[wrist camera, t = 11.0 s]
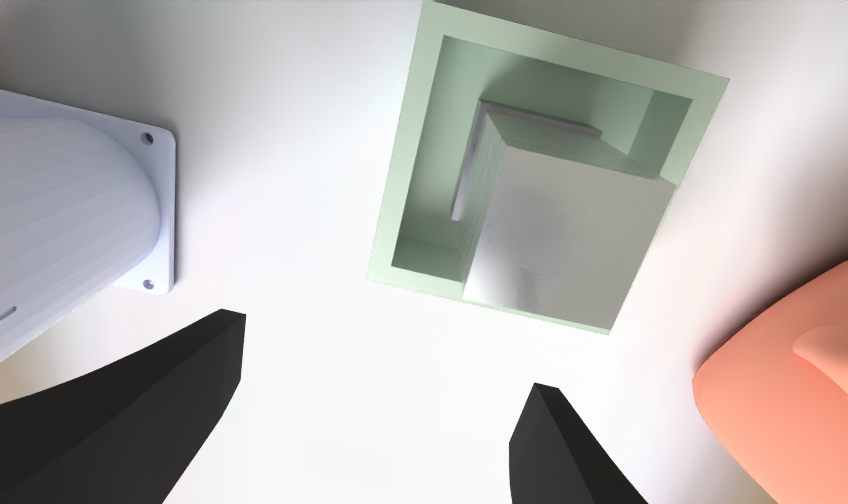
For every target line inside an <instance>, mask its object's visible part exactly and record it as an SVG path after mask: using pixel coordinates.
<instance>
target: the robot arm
mask: <svg viewBox="0 0 848 504" xmlns="http://www.w3.org/2000/svg"><path fill="white" fill-rule="evenodd" d="M147 133H149V134H150V135H151V136H152V137H153V143H150V142H149V141H148V140H147V138H146V134H147ZM175 148H176V143H175V138H174V136H173V135H172V133H171V132H169V131H168V130H166V129H164V128H160V127H156V126H152V125H147V124H143V123H139V122H135V121H131V120H127V119H122V118H118V117H114V116H110V115H106V114H102V113H97V112H93V111H89V110H85V109H81V108H77V107H72V106H68V105H64V104H60V103H56V102H52V101H47V100H43V99H39V98H35V97H31V96H27V95H22V94H18V93H14V92H10V91H6V90H2V89H0V362H2V361H3V360H5V359H6V358H8V357H9V356H10V355H12V354H13V353H15V352H16V351H17V350H19V349H20V348H22V347H23V346H24V345H26V344H27V343H29V342H30V341H32V340H33V339H34V338H36V337H37V336H39V335H40V334H41V333H43V332H44V331H46V330H47V329H48V328H50V327H51V326H53V325H54V324H56V323H57V322H58V321H60V320H61V319H63V318H64V317H65V316H67V315H68V314H70V313H71V312H72V311H74V310H75V309H77V308H78V307H80V306H81V305H82V304H84V303H85V302H87V301H88V300H89V299H91V298H92V297H94V296H95V295H96V294H98V293H99V292H101V291H102V290H104V289H105V288H106V287H108V286H109V285H115V286H119V287H124V288H128V289H133V290H137V291H142V292H146V293H151V294H155V295H161V296H164V295H167V294H168V293H169V292H170V291H171V290H172V289H173V286H174V218H175ZM148 280H150V281H152V282H153V284H154V286H153V285H151V284H150V283H149V282H148ZM245 323H246V314H242V313H238V312H234V311H230V310H225V309H220V310H218V311H215V312H213V313H211V314H210V315H208V316H206V317H204V318H202V319H200V320H198V321H196V322H194V323H192V324H191V325H189V326H187V327H185V328H183V329H181V330H179V331H177V332H175V333H173V334H171V335H169V336H167V337H165V338H163V339H161V340H159V341H157V342H155V343H153V344H152V345H150V346H148V347H146V348H143V349H141V350H139V351H137V352H135V353H132V354H130V355H128V356H126V357H124V358H122V359H119V360H117V361H115V362H113V363H111V364H108V365H106V366H104V367H102V368H100V369H97V370H95V371H92V372H90V373H88V374H85V375H83V376H80V377H78V378H75V379H73V380H70V381H67V382H65V383H62V384H59V385H56V386H54V387H51V388H48V389H46V390H43V391H40V392H37V393H34V394H31V395H28V396H25V397H22V398H19V399H16V400H12V401H9V402H6V403H3V404H0V504H162V503H163V502H164V500H165V499H166V497H167V496H168V494H169V493H170V491H171V490H172V489H173V487H174V486H175V484H176V483H177V481H178V480H179V478H180V477H181V476H182V474H183V473H184V471H185V470H186V468H187V467H188V465H189V464H190V462H191V461H192V460H193V458H194V457H195V455H196V454H197V452H198V451H199V449H200V448H201V447H202V445H203V444H204V442H205V441H206V439H207V438H208V436H209V435H210V433H211V432H212V430H213V429H214V427H215V426H216V425H217V423H218V422H219V420H220V419H221V417H222V415H223V413H224V411H225V409H226V408H227V406H228V404H229V402H230V400H231V398H232V396H233V394H234V392H235V390H236V388H237V386H238V384H239V382H240V379H241V368H242V356H243V345H244V334H245ZM509 476H510V490H511V497H512V504H648V503H647V502H646V501H645V499H644V498H643V497H642V496H641V495H640V494H639V492H638V491H637V490H636V489H635V488H634V486H633V485H632V484H631V483H630V482H629V480H628V479H627V478H626V477H625V476H624V474H623V473H622V472H621V471H620V469H619V468H618V467H617V466H616V464H615V463H614V462H613V461H612V459H611V458H610V457H609V455H608V454H607V453H606V452H605V450H604V449H603V448H602V446H601V445H600V444H599V442H598V441H597V440H596V438H595V437H594V436H593V434H592V433H591V432H590V430H589V429H588V427H587V426H586V425H585V423H584V422H583V421H582V419H581V418H580V417H579V415H578V414H577V412H576V411H575V410H574V408H573V407H572V405H571V404H570V403H569V401H568V400H567V399H566V397H565V396H564V395H563V393H562V392H561V391H560V390H559V388H556V387H551V386H547V385H543V384H539V383H534V385H533V387H532V389H531V392H530V394H529V396H528V399H527V401H526V404H525V406H524V408H523V411H522V413H521V416H520V418H519V420H518V423H517V425H516V427H515V430H514V432H513V435H512V437H511V439H510V442H509Z"/></svg>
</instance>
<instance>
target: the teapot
mask: <svg viewBox="0 0 848 504" xmlns="http://www.w3.org/2000/svg"><path fill="white" fill-rule="evenodd" d="M692 386H693V394H694V399H695V403H696V406H697V408H698V410H699V412H700V414H701V416H702V418H703V420H704V421H705V422H706V424H707V425H708V427H709V428H710V429H711V431H712V432H713V433H714V435H715V436H716V437H717V438H718V440H719V441H720V442H721V443H722V444H723V446H724V447H725V448H726V449H727V450H728V451H729V453H730V454H731V455H732V456H733V457H734V458H735V459H736V460H737V462H738V463H739V464H740V465H741V466H742V467H743V468H744V469H745V470H746V471H747V472H748V473H749V474H750V475H751V476H752V477H753V478H754V479H755V480H756V481H757V482H758V483H759V484H760V485H761V486H762V488H763V489H764V490H765V491H766V492H767V493H768V494H769V495H770V496H771V497H772V498H773V499H774V500H775V501H776V502H778V503H779V504H848V260H847V261H845V262H843V263H841V264H839V265H837V266H836V267H834V268H832V269H830V270H829V271H827V272H825V273H823V274H822V275H820V276H818V277H817V278H815V279H813V280H812V281H810V282H808V283H807V284H805V285H803V286H802V287H800V288H798V289H797V290H795V291H793V292H792V293H790V294H789V295H787V296H785V297H784V298H782V299H781V300H779V301H778V302H777V303H775V304H774V305H772V306H771V307H769V308H768V309H767V310H765V311H764V312H763V313H761V314H760V315H759V316H757V317H756V318H755V319H753V320H752V321H751V322H750V323H748V324H747V325H746V326H745V327H744V328H742V329H741V330H740V331H739V332H738V333H736V334H735V335H734V336H733V337H732V338H731V339H729V340H728V341H727V342H726V343H725V344H724V345H723V346H721V347H720V348H719V349H718V350H717V351H716V352H715V353H713V354H712V355H711V356H710V357H709V358H708V359H707V360H706V361H705V362H704V363H703V364H702V365H701V367H700V368H699V369H698V370H697V372H696V373H695V375H694V377H693V379H692Z"/></svg>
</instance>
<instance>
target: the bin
mask: <svg viewBox="0 0 848 504" xmlns="http://www.w3.org/2000/svg"><path fill="white" fill-rule="evenodd" d="M729 80H730V79H729V78H725V77H721V76H717V75H713V74H709V73H706V72H702V71H698V70H694V69H690V68H687V67H683V66H679V65H675V64H671V63H667V62H664V61H660V60H656V59H652V58H648V57H645V56H641V55H637V54H633V53H629V52H625V51H622V50H618V49H614V48H610V47H606V46H602V45H599V44H595V43H591V42H587V41H583V40H580V39H576V38H572V37H568V36H564V35H560V34H557V33H553V32H549V31H545V30H541V29H538V28H534V27H530V26H526V25H522V24H518V23H515V22H511V21H507V20H503V19H499V18H496V17H492V16H488V15H484V14H480V13H476V12H473V11H469V10H465V9H461V8H457V7H454V6H450V5H446V4H442V3H438V2H434V1H431V0H423V5H422V10H421V15H420V20H419V25H418V30H417V34H416V39H415V44H414V49H413V54H412V59H411V63H410V68H409V73H408V78H407V83H406V88H405V93H404V97H403V102H402V107H401V112H400V117H399V122H398V127H397V131H396V136H395V141H394V146H393V151H392V156H391V160H390V165H389V170H388V175H387V180H386V185H385V190H384V194H383V199H382V204H381V209H380V214H379V219H378V224H377V228H376V233H375V238H374V243H373V248H372V253H371V257H370V262H369V267H368V272H367V277H366V280H368V281H372V282H376V283H381V284H385V285H390V286H394V287H398V288H403V289H407V290H412V291H416V292H420V293H425V294H429V295H433V296H438V297H442V298H447V299H451V300H455V301H460V302H464V303H468V304H473V305H477V306H482V307H486V308H490V309H495V310H499V311H503V312H508V313H512V314H517V315H521V316H525V317H530V318H534V319H538V320H543V321H547V322H552V323H556V324H560V325H565V326H569V327H573V328H578V329H582V330H587V331H591V332H595V333H600V334H604V335H609V333H610V331H611V330H607V329H602V328H598V327H593V326H588V325H584V324H579V323H575V322H570V321H565V320H561V319H556V318H551V317H547V316H542V315H538V314H533V313H528V312H524V311H519V310H514V309H510V308H505V307H501V306H496V305H491V304H487V303H482V302H477V301H473V300H468V299H464V298H462V286H461V269H460V252H459V235H458V221H456V220H452V219H451V203H452V199H453V196H454V192H455V188H456V184H457V180H458V176H459V172H460V168H461V164H462V160H463V156H464V153H465V149H466V145H467V141H468V137H469V133H470V129H471V125H472V121H473V117H474V113H475V110H476V106H477V102H478V98H480V99H484V100H488V101H493V102H497V103H501V104H505V105H510V106H514V107H518V108H522V109H526V110H531V111H535V112H539V113H543V114H548V115H552V116H556V117H560V118H564V119H569V120H573V121H577V122H581V123H586V124H590V125H592V126H594V127H595V128H597V129H599V130H601V131H603V133H602V135H601V138H600V139H601V140H603V141H604V142H606V143H608V144H609V145H611V146H613V147H614V148H616V149H618V150H619V151H621V152H623V153H624V154H626V155H627V156H629V157H631V158H632V159H634V160H636V161H637V162H639V163H641V164H642V165H644V166H646V167H647V168H649V169H650V170H652V171H654V172H655V173H657V174H659V175H660V176H662V177H664V178H665V179H667V180H669V181H670V182H672V183H674V184H675V185H677V187H676V189H675V191H674V193H673V195H672V198H671V200H670V202H669V204H668V206H667V208H666V211H665V213H664V215H663V217H662V219H661V222H660V224H659V226H658V228H657V230H656V233H655V235H654V237H653V239H652V241H651V243H650V246H649V248H648V250H647V252H646V254H645V257H646V255H647V253H648V251H649V249H650V247H651V245H652V242H653V240H654V238H655V236H656V234H657V232H658V230H659V228H660V226H661V223H662V221H663V219H664V217H665V215H666V213H667V211H668V209H669V207H670V205H671V202H672V200H673V198H674V196H675V194H676V192H677V190H678V188H679V186H680V183H681V181H682V179H683V177H684V175H685V173H686V171H687V169H688V167H689V164H690V162H691V160H692V158H693V156H694V154H695V152H696V150H697V148H698V146H699V143H700V141H701V139H702V137H703V135H704V133H705V131H706V129H707V127H708V124H709V122H710V120H711V118H712V116H713V114H714V112H715V110H716V108H717V106H718V103H719V101H720V99H721V97H722V95H723V93H724V91H725V89H726V87H727V84H728V82H729ZM645 257H644V259H645ZM644 259H643V261H644ZM643 261H642V263H643ZM642 263H641V265H640V267H639V270H640V268H641V266H642ZM639 270H638V272H639ZM638 272H637V274H638ZM637 274H636V276H637ZM636 276H635V278H636ZM635 278H634V280H635ZM633 282H634V281H633ZM632 285H633V283H632ZM632 285H631V287H632ZM631 287H630V289H631ZM630 289H629V291H630ZM628 293H629V292H628ZM627 295H628V294H627ZM626 297H627V296H626ZM625 299H626V298H625ZM624 301H625V300H624ZM623 303H624V302H623ZM622 306H623V305H622ZM621 308H622V307H621ZM620 310H621V309H620ZM619 312H620V311H619ZM618 314H619V313H618ZM613 325H614V324H613Z"/></svg>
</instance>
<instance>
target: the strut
mask: <svg viewBox="0 0 848 504" xmlns="http://www.w3.org/2000/svg"><path fill="white" fill-rule="evenodd" d="M602 133H603V131H601V130H599V129H597V128H595V127H594V126H592V125H590V124H586V123H581V122H577V121H573V120H569V119H564V118H560V117H556V116H552V115H548V114H543V113H539V112H535V111H531V110H526V109H522V108H518V107H514V106H510V105H505V104H501V103H497V102H493V101H488V100H484V99H480V98H478V102H477V106H476V110H475V113H474V117H473V121H472V125H471V129H470V133H469V137H468V141H467V145H466V149H465V153H464V156H463V160H462V164H461V168H460V172H459V176H458V180H457V184H456V188H455V192H454V196H453V199H452V203H451V219H452V220H456V221H458V235H459V252H460V269H461V286H462V298H464V299H468V300H473V301H477V302H482V303H487V304H491V305H496V306H501V307H505V308H510V309H514V310H519V311H524V312H528V313H533V314H538V315H542V316H547V317H551V318H556V319H561V320H565V321H570V322H575V323H579V324H584V325H588V326H593V327H598V328H602V329H607V330H611V329H612V327H613V324H614V322H615V320H616V318H617V316H618V313H619V311H620V309H621V307H622V305H623V302H624V300H625V298H626V296H627V294H628V292H629V289H630V287H631V285H632V283H633V281H634V278H635V276H636V274H637V272H638V270H639V267H640V265H641V263H642V261H643V259H644V257H645V254H646V252H647V250H648V248H649V246H650V243H651V241H652V239H653V237H654V235H655V233H656V230H657V228H658V226H659V224H660V222H661V219H662V217H663V215H664V213H665V211H666V208H667V206H668V204H669V202H670V200H671V198H672V195H673V193H674V191H675V189H676V187H677V185H675V184H674V183H672V182H670V181H669V180H667V179H665V178H664V177H662V176H660V175H659V174H657V173H655V172H654V171H652V170H650V169H649V168H647V167H646V166H644V165H642V164H641V163H639V162H637V161H636V160H634V159H632V158H631V157H629V156H627V155H626V154H624V153H623V152H621V151H619V150H618V149H616V148H614V147H613V146H611V145H609V144H608V143H606V142H604V141H603V140H601V139H600V138H601V135H602Z"/></svg>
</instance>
